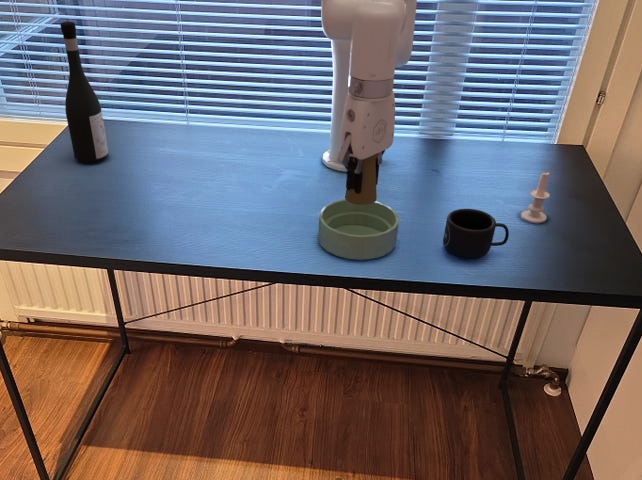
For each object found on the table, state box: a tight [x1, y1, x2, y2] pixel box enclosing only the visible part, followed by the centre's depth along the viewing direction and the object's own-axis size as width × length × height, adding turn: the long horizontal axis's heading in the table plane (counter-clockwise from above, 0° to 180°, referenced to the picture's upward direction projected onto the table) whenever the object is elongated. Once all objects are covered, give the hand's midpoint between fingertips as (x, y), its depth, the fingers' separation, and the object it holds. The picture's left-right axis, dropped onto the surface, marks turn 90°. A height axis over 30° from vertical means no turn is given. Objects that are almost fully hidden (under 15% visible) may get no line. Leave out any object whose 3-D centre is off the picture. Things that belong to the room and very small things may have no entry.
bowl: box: [317, 198, 400, 261], centre depth 129 cm, size 15×15×6 cm
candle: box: [520, 171, 550, 225], centre depth 136 cm, size 5×5×10 cm
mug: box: [442, 208, 510, 261], centre depth 126 cm, size 12×9×7 cm
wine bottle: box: [60, 21, 109, 165], centre depth 150 cm, size 8×8×30 cm
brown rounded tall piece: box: [344, 151, 379, 205], centre depth 121 cm, size 6×6×11 cm
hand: (361, 186), depth 123 cm, fingers closed on brown rounded tall piece, 4 cm apart
